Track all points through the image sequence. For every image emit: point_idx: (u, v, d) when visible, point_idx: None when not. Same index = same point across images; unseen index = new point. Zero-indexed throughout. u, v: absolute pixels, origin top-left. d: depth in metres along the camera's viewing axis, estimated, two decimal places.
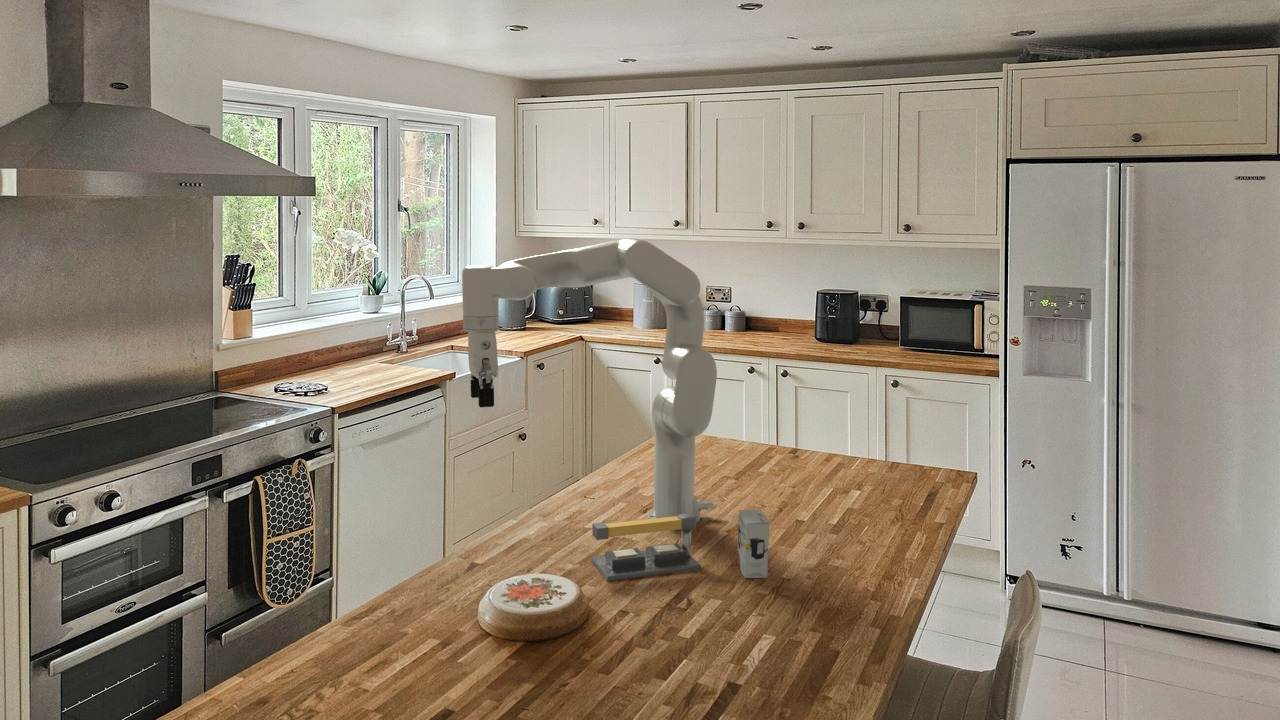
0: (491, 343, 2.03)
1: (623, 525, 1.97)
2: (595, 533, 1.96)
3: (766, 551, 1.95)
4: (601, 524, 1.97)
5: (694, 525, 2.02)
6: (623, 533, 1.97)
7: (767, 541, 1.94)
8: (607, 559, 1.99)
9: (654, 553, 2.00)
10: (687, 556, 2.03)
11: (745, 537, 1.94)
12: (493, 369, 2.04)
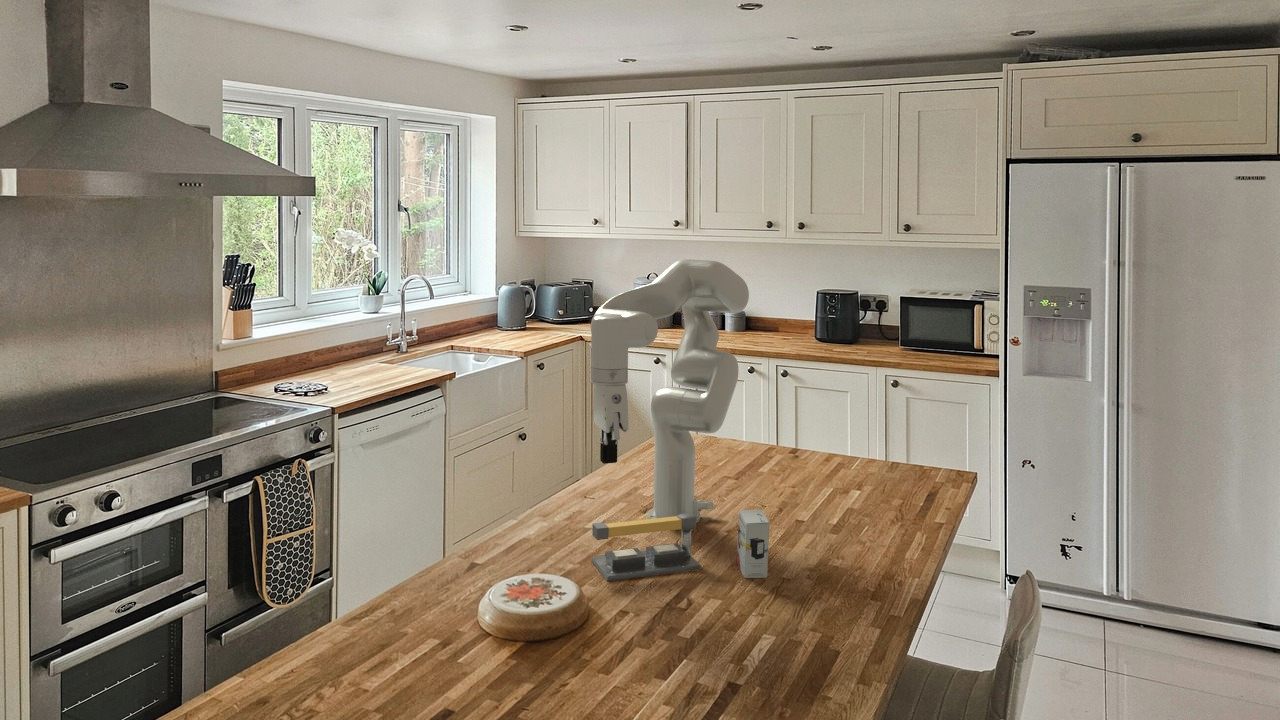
0: (622, 397, 1.95)
1: (623, 525, 1.97)
2: (595, 533, 1.96)
3: (766, 551, 1.95)
4: (601, 524, 1.97)
5: (694, 525, 2.02)
6: (623, 533, 1.97)
7: (767, 541, 1.94)
8: (607, 559, 1.99)
9: (654, 553, 2.00)
10: (687, 556, 2.03)
11: (745, 537, 1.94)
12: (624, 424, 1.96)
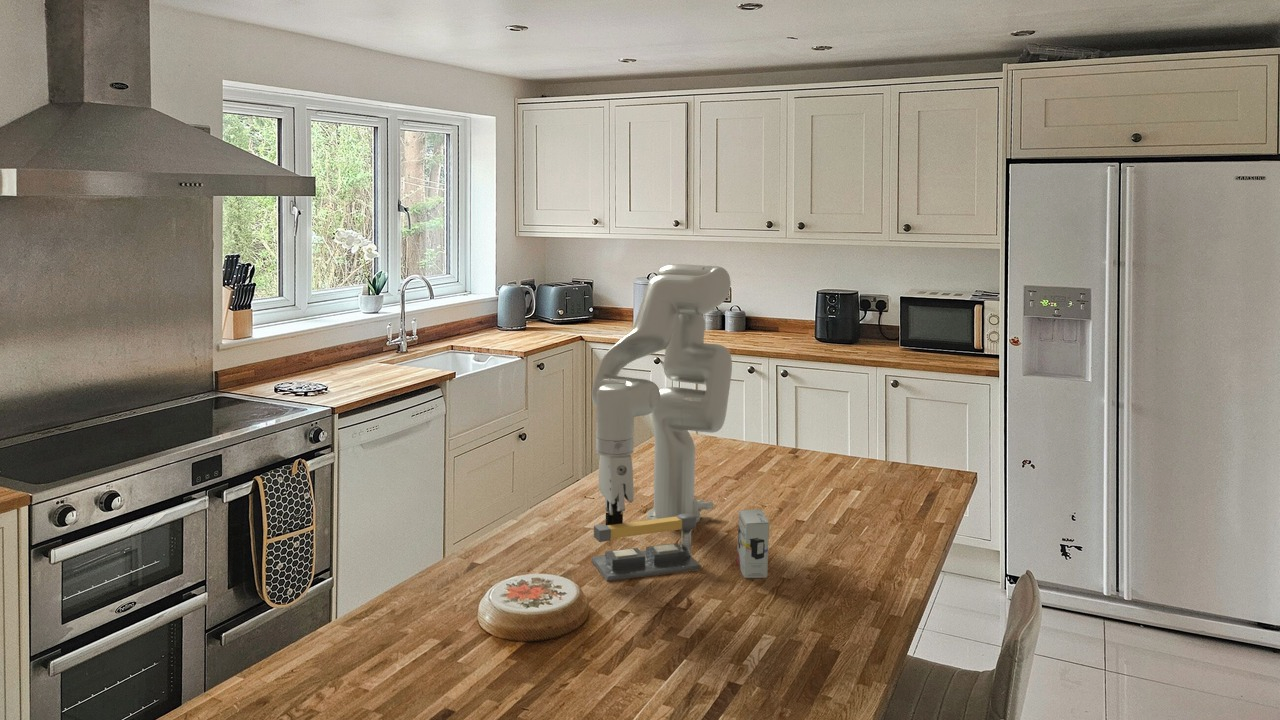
0: (627, 468, 1.94)
1: (625, 526, 1.97)
2: (598, 535, 1.95)
3: (766, 551, 1.95)
4: (603, 526, 1.96)
5: (694, 525, 2.02)
6: (625, 534, 1.97)
7: (767, 541, 1.94)
8: (607, 559, 1.99)
9: (654, 553, 2.00)
10: (687, 556, 2.03)
11: (745, 537, 1.94)
12: (629, 495, 1.94)
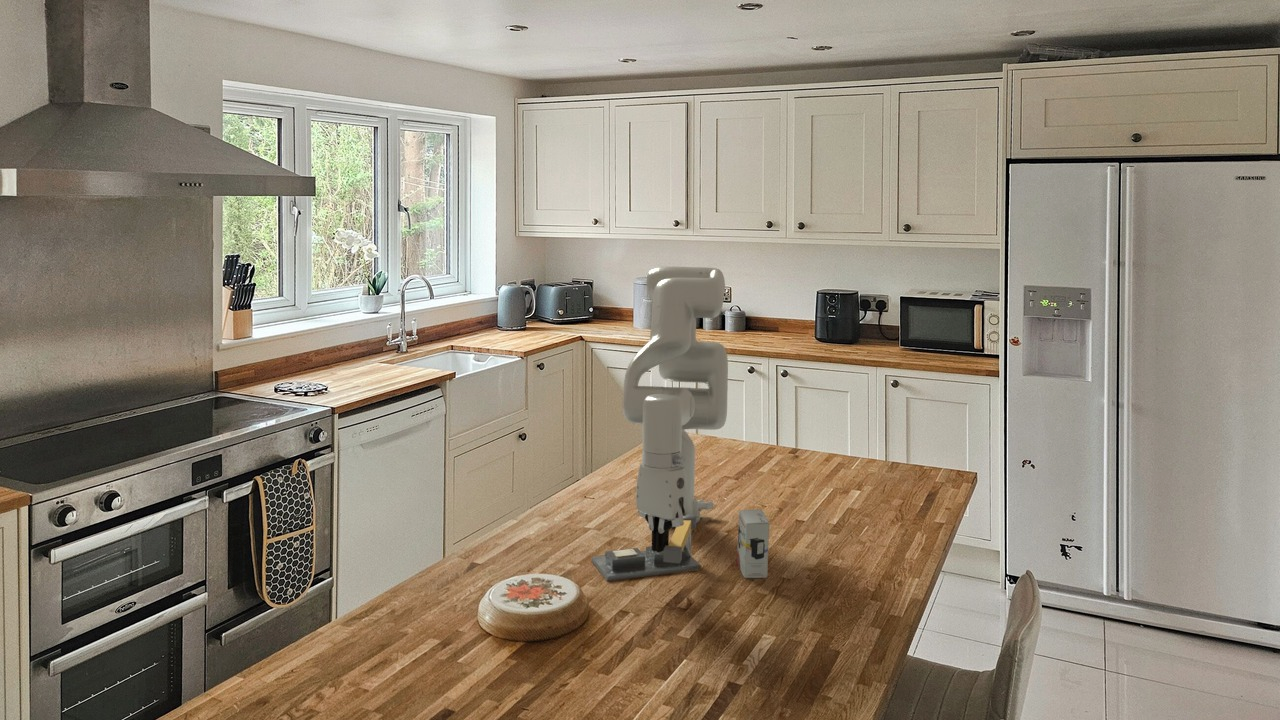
0: (684, 480, 1.85)
1: (680, 541, 1.89)
2: (675, 557, 1.84)
3: (766, 551, 1.95)
4: (671, 547, 1.85)
5: None
6: (682, 549, 1.89)
7: (767, 541, 1.94)
8: (607, 559, 1.99)
9: (654, 553, 2.00)
10: (687, 556, 2.03)
11: (745, 537, 1.94)
12: (686, 508, 1.86)
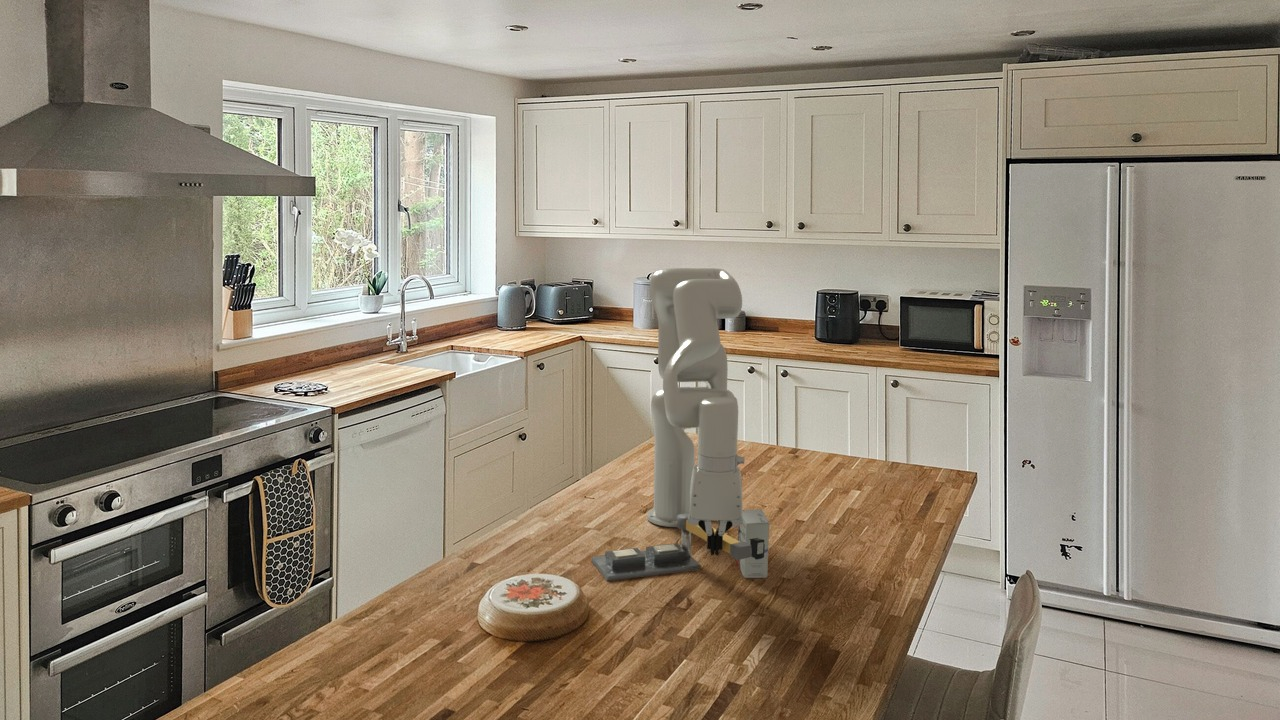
0: None
1: (729, 537, 1.91)
2: (747, 552, 1.87)
3: (766, 551, 1.95)
4: (738, 544, 1.87)
5: None
6: None
7: (767, 541, 1.94)
8: (607, 559, 1.99)
9: (654, 553, 2.00)
10: (687, 556, 2.03)
11: (745, 537, 1.94)
12: None
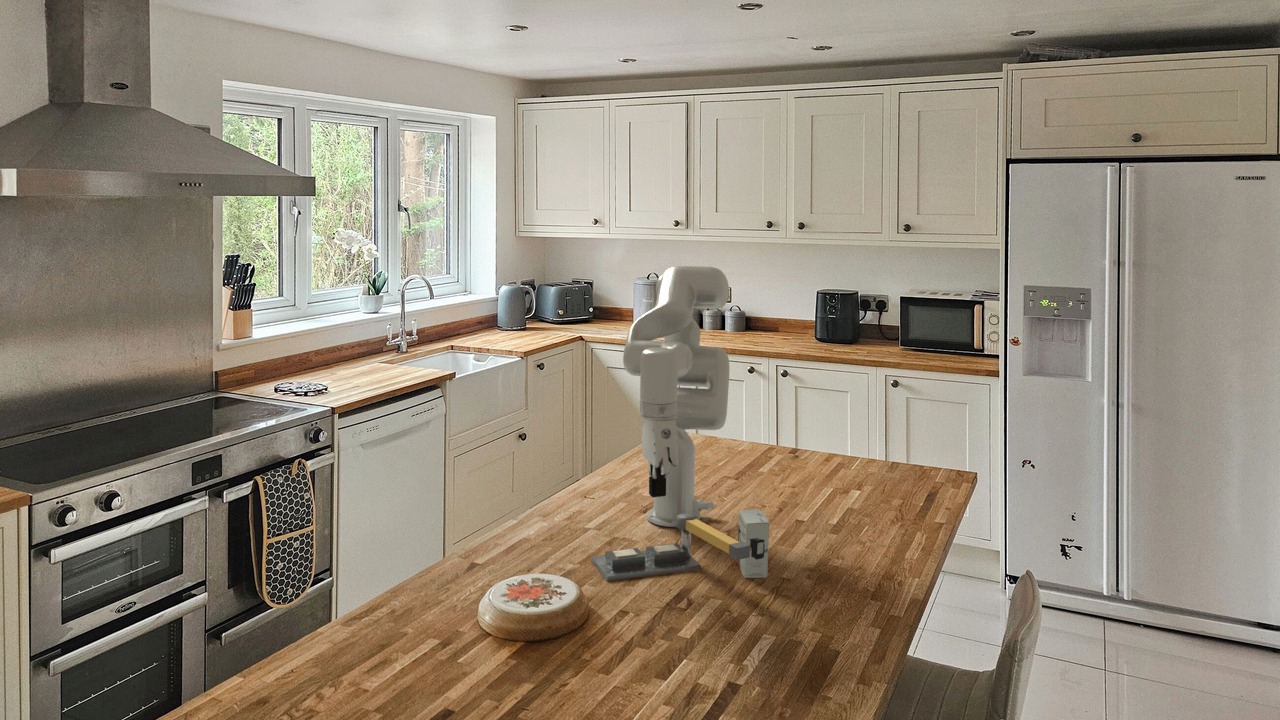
0: (672, 432, 1.93)
1: (729, 537, 1.91)
2: (746, 552, 1.86)
3: (766, 551, 1.95)
4: (736, 544, 1.87)
5: None
6: None
7: (767, 541, 1.94)
8: (607, 559, 1.99)
9: (654, 553, 2.00)
10: (687, 556, 2.03)
11: (745, 537, 1.94)
12: (673, 458, 1.94)
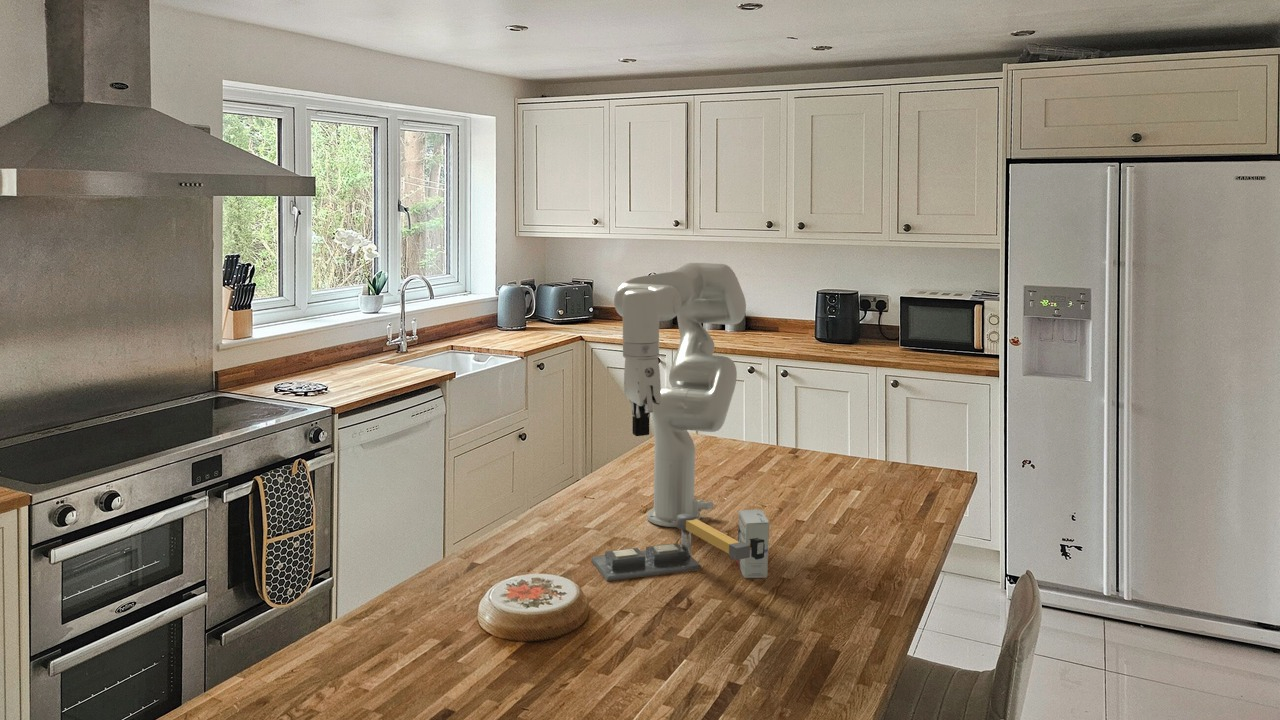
0: (655, 370, 1.98)
1: (729, 537, 1.91)
2: (746, 552, 1.86)
3: (766, 551, 1.95)
4: (736, 544, 1.87)
5: None
6: None
7: (767, 541, 1.94)
8: (607, 559, 1.99)
9: (654, 553, 2.00)
10: (687, 556, 2.03)
11: (745, 537, 1.94)
12: (657, 397, 1.99)
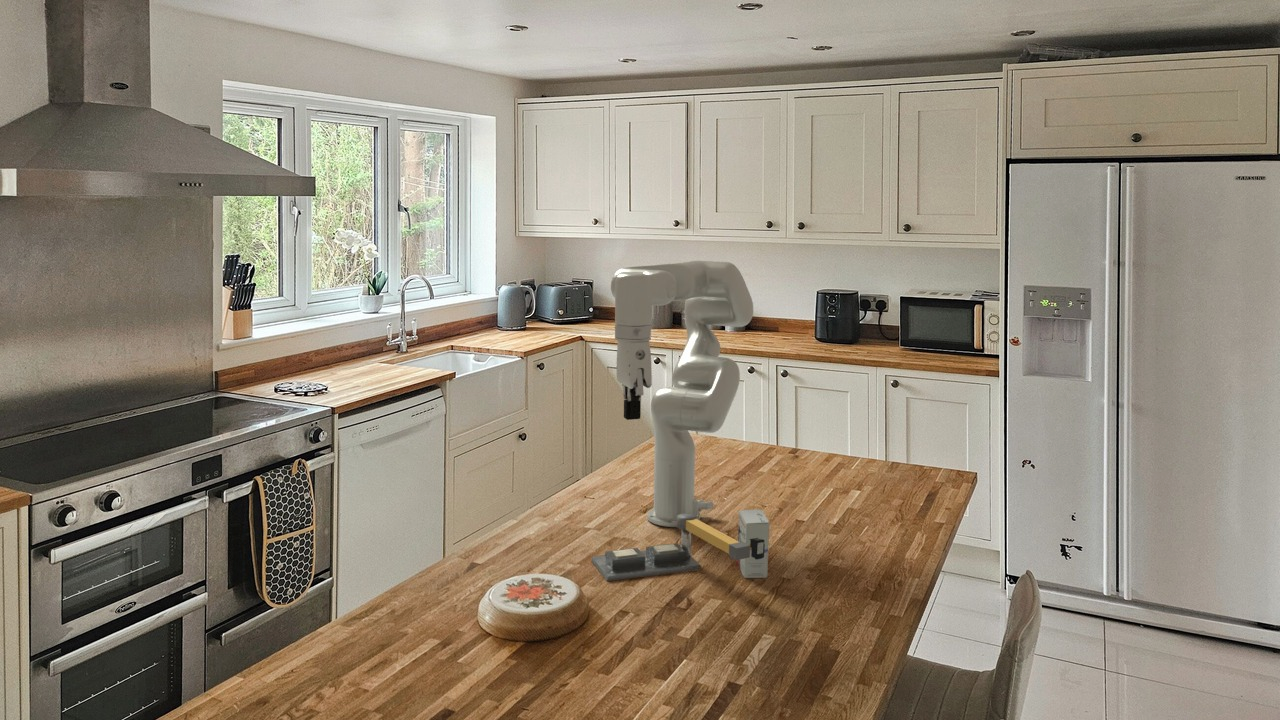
0: (646, 353, 1.99)
1: (729, 537, 1.91)
2: (746, 552, 1.86)
3: (766, 551, 1.95)
4: (736, 544, 1.87)
5: None
6: None
7: (767, 541, 1.94)
8: (607, 559, 1.99)
9: (654, 553, 2.00)
10: (687, 556, 2.03)
11: (745, 537, 1.94)
12: (647, 379, 1.99)
